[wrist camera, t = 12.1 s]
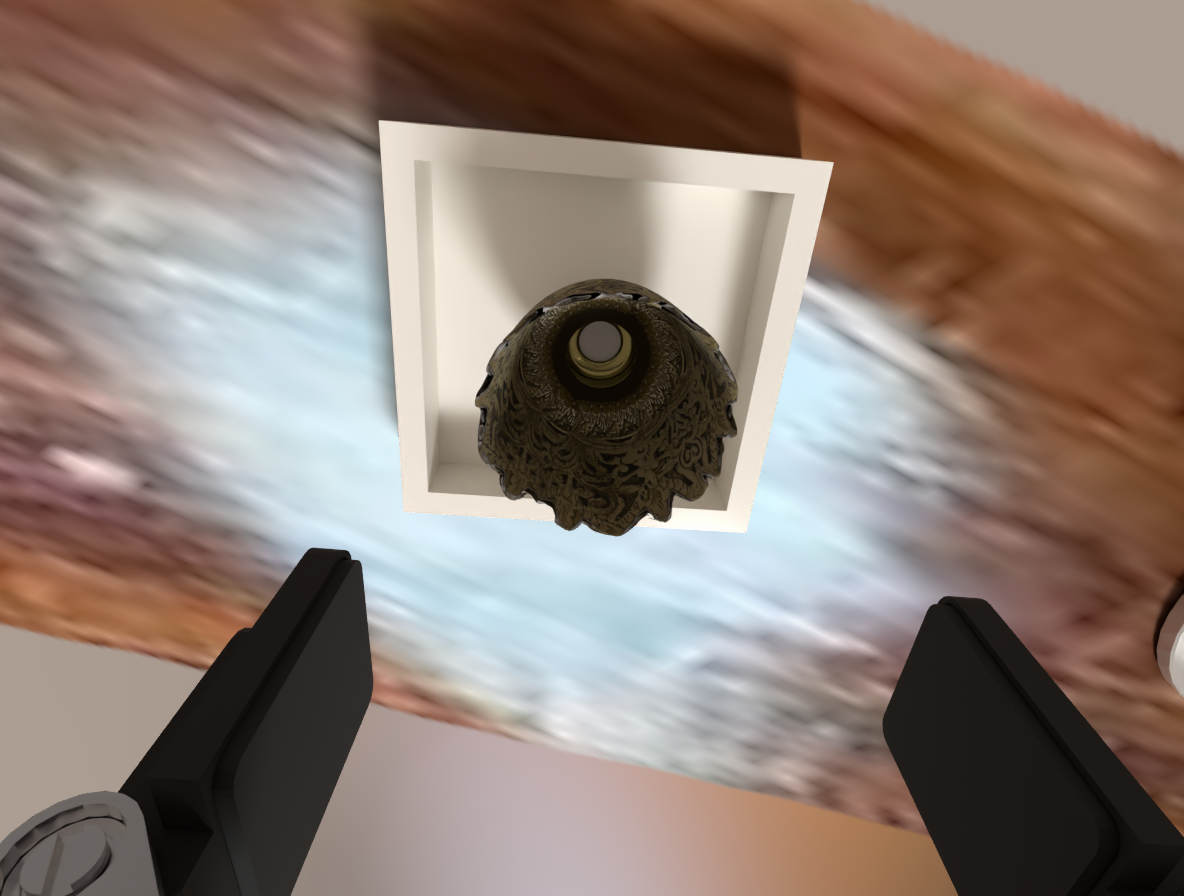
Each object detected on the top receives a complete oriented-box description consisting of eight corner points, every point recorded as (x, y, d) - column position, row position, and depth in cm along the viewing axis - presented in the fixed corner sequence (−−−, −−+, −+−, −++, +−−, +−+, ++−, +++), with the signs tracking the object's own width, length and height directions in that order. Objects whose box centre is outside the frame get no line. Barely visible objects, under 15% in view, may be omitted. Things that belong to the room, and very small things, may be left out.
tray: (802, 158, 22) (833, 162, 19) (730, 493, 29) (745, 532, 26) (404, 121, 22) (378, 120, 19) (421, 473, 28) (403, 511, 25)
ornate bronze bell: (733, 322, 24) (796, 403, 17) (617, 457, 27) (630, 575, 20) (579, 200, 22) (578, 234, 15) (469, 359, 25) (424, 451, 18)
